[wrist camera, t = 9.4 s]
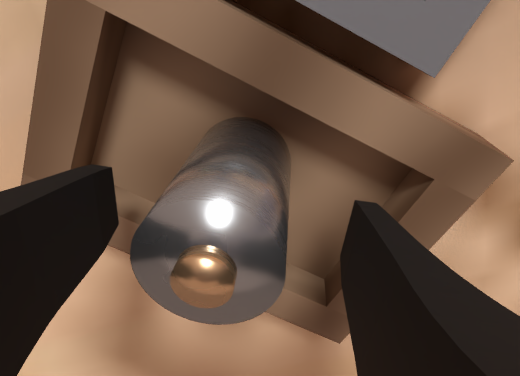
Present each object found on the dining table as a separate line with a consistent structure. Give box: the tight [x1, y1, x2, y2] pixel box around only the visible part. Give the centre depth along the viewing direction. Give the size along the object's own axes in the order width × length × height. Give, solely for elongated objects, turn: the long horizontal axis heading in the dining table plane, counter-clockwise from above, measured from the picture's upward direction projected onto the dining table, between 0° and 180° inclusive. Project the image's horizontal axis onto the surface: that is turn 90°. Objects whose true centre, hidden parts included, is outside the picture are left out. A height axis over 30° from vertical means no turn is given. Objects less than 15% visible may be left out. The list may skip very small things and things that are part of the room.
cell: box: [130, 117, 291, 325], centre depth 10 cm, size 4×4×6 cm
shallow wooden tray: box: [21, 0, 514, 344], centre depth 13 cm, size 14×10×2 cm
